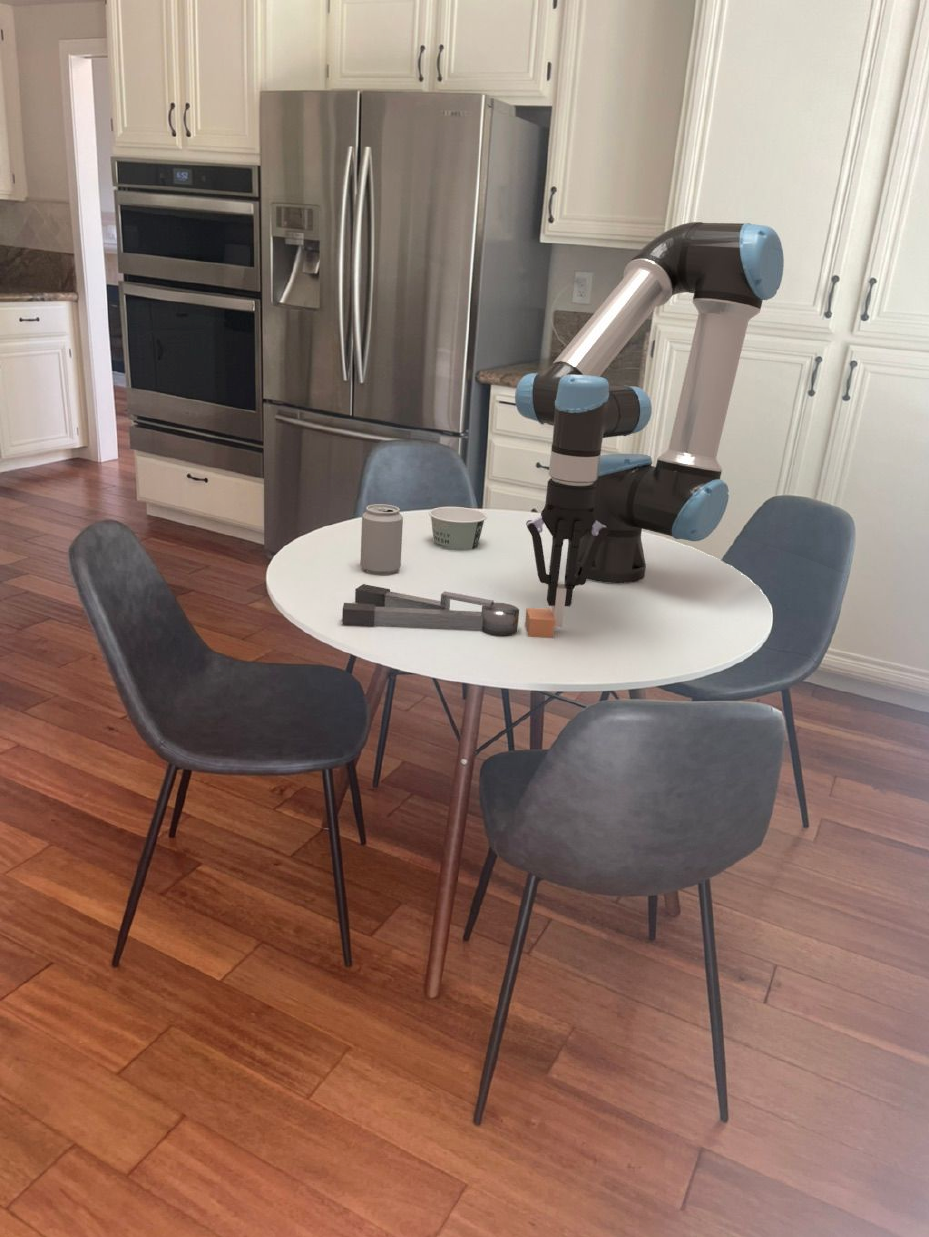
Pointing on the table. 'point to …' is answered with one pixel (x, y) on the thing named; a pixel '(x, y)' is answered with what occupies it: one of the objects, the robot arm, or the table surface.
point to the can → (381, 539)
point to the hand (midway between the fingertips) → (556, 624)
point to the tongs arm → (411, 599)
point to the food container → (456, 527)
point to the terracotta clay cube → (539, 622)
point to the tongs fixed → (435, 618)
